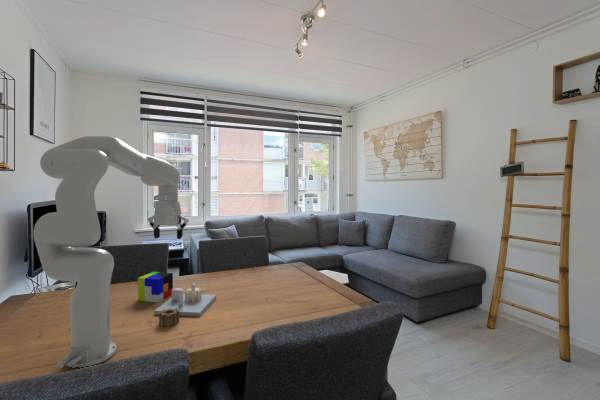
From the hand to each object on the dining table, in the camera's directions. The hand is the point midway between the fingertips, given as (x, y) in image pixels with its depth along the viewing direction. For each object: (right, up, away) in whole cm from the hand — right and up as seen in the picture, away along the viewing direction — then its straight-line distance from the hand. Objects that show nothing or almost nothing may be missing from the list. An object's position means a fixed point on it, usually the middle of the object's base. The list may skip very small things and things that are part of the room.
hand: (168, 238), depth 126 cm
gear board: (+9, -28, -2) cm, 30 cm away
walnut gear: (+8, -29, -18) cm, 35 cm away
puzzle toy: (-9, -28, +7) cm, 30 cm away
